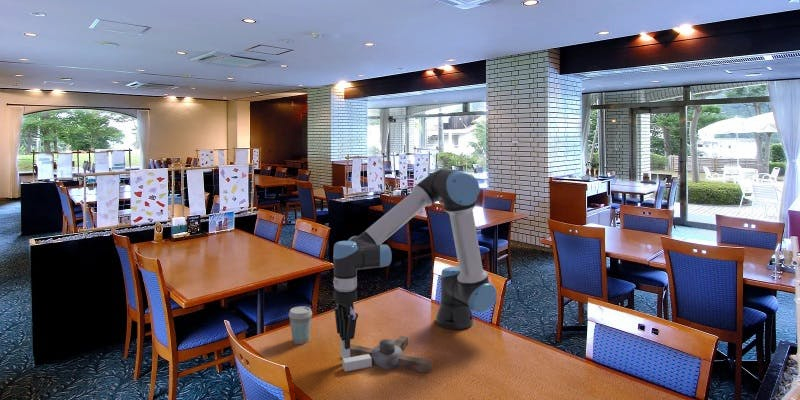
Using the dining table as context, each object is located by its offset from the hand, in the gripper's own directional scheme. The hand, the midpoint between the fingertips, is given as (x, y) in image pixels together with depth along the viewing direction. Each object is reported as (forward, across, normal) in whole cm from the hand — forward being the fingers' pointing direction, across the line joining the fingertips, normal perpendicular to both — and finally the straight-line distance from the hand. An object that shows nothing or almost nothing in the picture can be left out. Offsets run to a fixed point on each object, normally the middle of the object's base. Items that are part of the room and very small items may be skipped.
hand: (345, 356), depth 151 cm
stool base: (+2, +8, +12) cm, 14 cm away
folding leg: (+2, +5, +1) cm, 6 cm away
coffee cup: (+2, -24, -6) cm, 25 cm away
